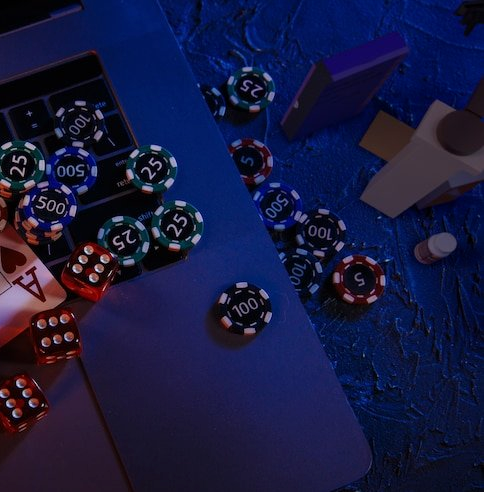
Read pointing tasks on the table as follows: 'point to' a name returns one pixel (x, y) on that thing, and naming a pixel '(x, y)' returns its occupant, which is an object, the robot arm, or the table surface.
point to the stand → (418, 167)
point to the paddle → (464, 126)
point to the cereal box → (343, 85)
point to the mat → (386, 136)
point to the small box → (450, 189)
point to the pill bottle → (435, 248)
